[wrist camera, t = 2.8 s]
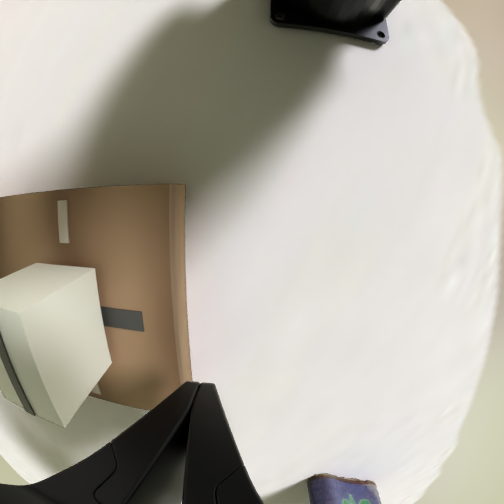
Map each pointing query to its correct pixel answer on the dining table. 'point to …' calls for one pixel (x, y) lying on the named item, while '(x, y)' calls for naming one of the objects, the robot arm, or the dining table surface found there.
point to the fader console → (116, 274)
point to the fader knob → (51, 339)
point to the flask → (341, 490)
